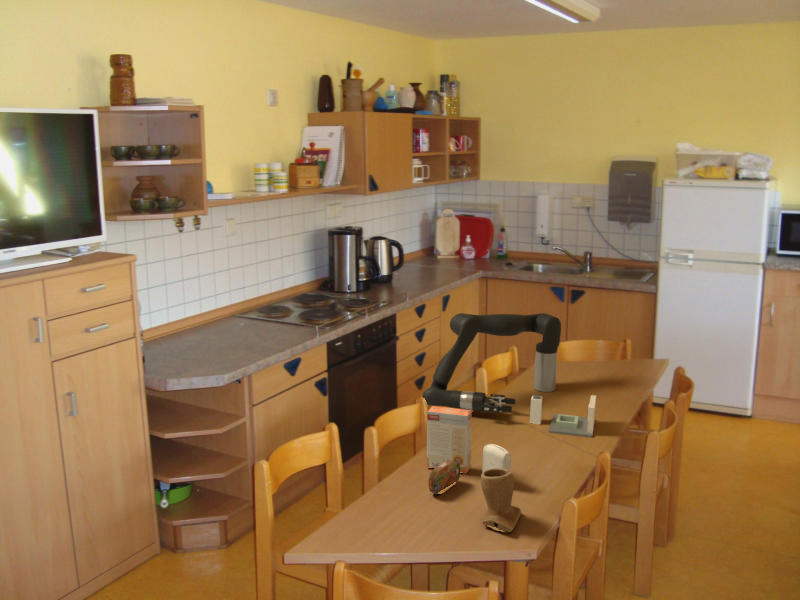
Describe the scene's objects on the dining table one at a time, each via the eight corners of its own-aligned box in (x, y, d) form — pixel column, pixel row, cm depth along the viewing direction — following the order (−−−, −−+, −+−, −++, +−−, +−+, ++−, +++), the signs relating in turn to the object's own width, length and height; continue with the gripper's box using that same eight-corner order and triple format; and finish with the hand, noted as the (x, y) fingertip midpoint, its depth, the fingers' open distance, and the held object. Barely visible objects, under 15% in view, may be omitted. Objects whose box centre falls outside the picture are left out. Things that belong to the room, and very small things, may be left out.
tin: (434, 499, 241) (435, 474, 240) (426, 496, 243) (426, 471, 241) (461, 481, 253) (461, 457, 251) (452, 479, 255) (453, 455, 253)
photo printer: (480, 477, 256) (481, 442, 253) (489, 474, 259) (490, 439, 256) (503, 489, 248) (504, 453, 245) (512, 485, 251) (513, 449, 248)
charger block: (531, 419, 305) (532, 393, 303) (541, 420, 304) (542, 394, 302) (529, 423, 302) (530, 397, 299) (540, 424, 301) (541, 398, 298)
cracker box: (471, 467, 263) (472, 409, 259) (466, 475, 258) (468, 415, 253) (431, 461, 268) (432, 404, 263) (426, 469, 262) (426, 410, 257)
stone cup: (485, 505, 238) (487, 460, 234) (524, 512, 233) (526, 466, 230) (471, 529, 224) (472, 481, 221) (511, 537, 220) (513, 488, 216)
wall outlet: (553, 415, 310) (554, 389, 307) (594, 420, 305) (596, 394, 303) (548, 432, 293) (550, 405, 290) (592, 437, 288) (594, 410, 286)
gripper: (469, 398, 301) (511, 402, 297) (476, 386, 315) (516, 390, 310) (469, 416, 303) (510, 420, 298) (476, 403, 316) (516, 408, 312)
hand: (513, 405), depth 304 cm, fingers open, 8 cm apart
